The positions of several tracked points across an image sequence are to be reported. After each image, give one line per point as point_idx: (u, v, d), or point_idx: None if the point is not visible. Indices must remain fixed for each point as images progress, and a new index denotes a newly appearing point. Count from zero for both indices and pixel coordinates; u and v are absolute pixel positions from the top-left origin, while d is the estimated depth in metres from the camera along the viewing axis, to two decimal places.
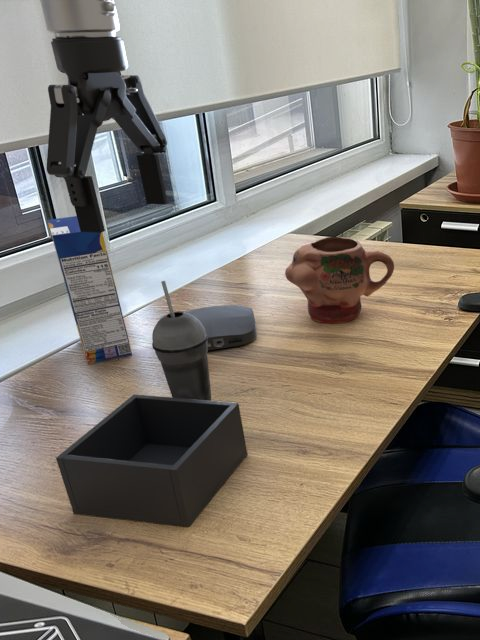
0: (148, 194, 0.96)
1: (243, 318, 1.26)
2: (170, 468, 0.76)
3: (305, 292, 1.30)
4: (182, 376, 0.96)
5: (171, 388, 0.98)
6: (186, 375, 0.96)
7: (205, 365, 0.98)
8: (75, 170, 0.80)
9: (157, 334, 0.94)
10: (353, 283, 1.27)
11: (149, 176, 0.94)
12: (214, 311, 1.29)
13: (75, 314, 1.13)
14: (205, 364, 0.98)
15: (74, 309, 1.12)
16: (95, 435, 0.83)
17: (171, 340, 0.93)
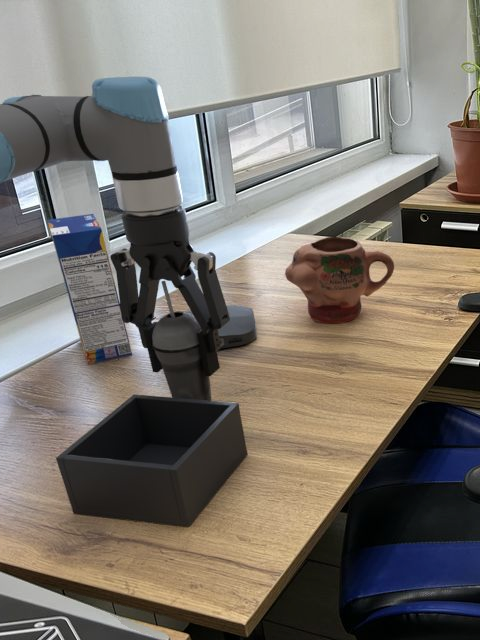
0: (158, 362, 0.98)
1: (243, 318, 1.26)
2: (170, 468, 0.76)
3: (305, 292, 1.30)
4: (182, 376, 0.96)
5: (171, 388, 0.98)
6: (186, 375, 0.96)
7: None
8: None
9: (157, 334, 0.94)
10: (353, 283, 1.27)
11: None
12: None
13: (75, 314, 1.13)
14: None
15: (74, 309, 1.12)
16: (95, 435, 0.83)
17: (171, 340, 0.93)
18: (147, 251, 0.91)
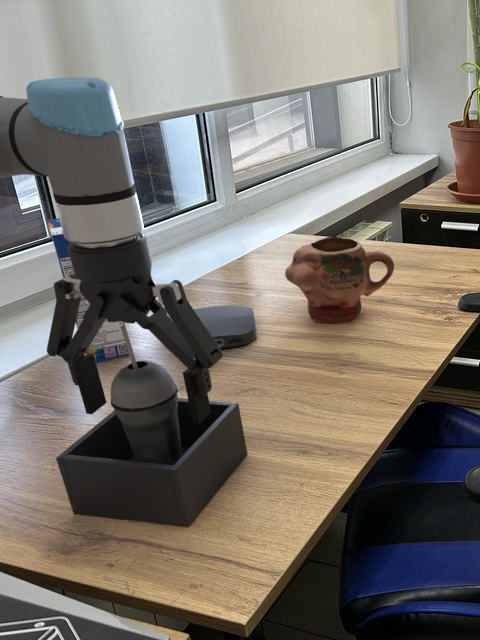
0: (92, 402, 0.82)
1: (243, 318, 1.26)
2: (170, 468, 0.76)
3: (305, 292, 1.30)
4: (146, 437, 0.81)
5: (134, 450, 0.82)
6: (151, 436, 0.81)
7: (174, 423, 0.83)
8: None
9: (116, 389, 0.79)
10: (353, 283, 1.27)
11: (91, 381, 0.82)
12: (214, 311, 1.29)
13: None
14: (174, 422, 0.83)
15: None
16: (95, 435, 0.83)
17: (132, 397, 0.78)
18: (100, 288, 0.75)
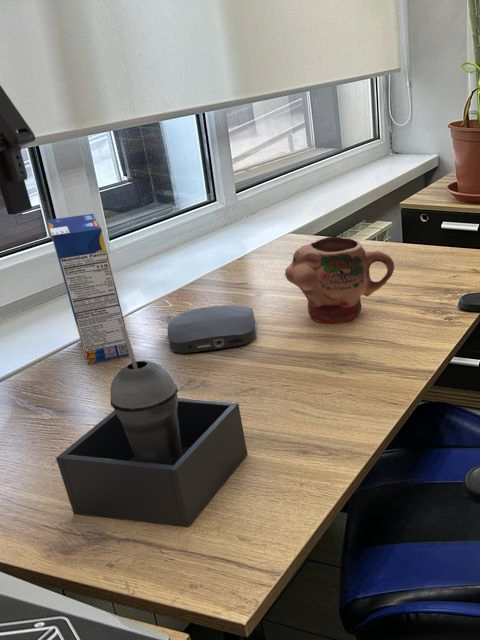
0: None
1: (243, 318, 1.26)
2: (170, 468, 0.76)
3: (305, 292, 1.30)
4: (146, 437, 0.81)
5: (134, 450, 0.82)
6: (151, 436, 0.81)
7: (174, 423, 0.83)
8: None
9: (116, 389, 0.79)
10: (353, 283, 1.27)
11: None
12: (214, 311, 1.29)
13: (75, 314, 1.13)
14: (174, 422, 0.83)
15: (74, 309, 1.12)
16: (95, 435, 0.83)
17: (132, 397, 0.78)
18: None
